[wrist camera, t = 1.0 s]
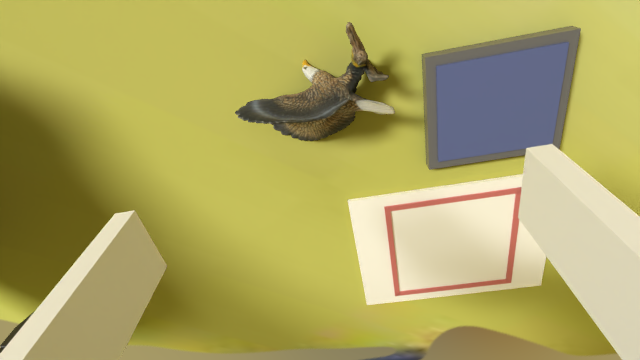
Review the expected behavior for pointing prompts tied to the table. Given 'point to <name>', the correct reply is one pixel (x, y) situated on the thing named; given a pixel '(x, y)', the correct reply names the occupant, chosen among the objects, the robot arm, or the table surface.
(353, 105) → the eagle figurine
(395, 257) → the print sheet
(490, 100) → the ink pad
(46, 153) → the table surface
